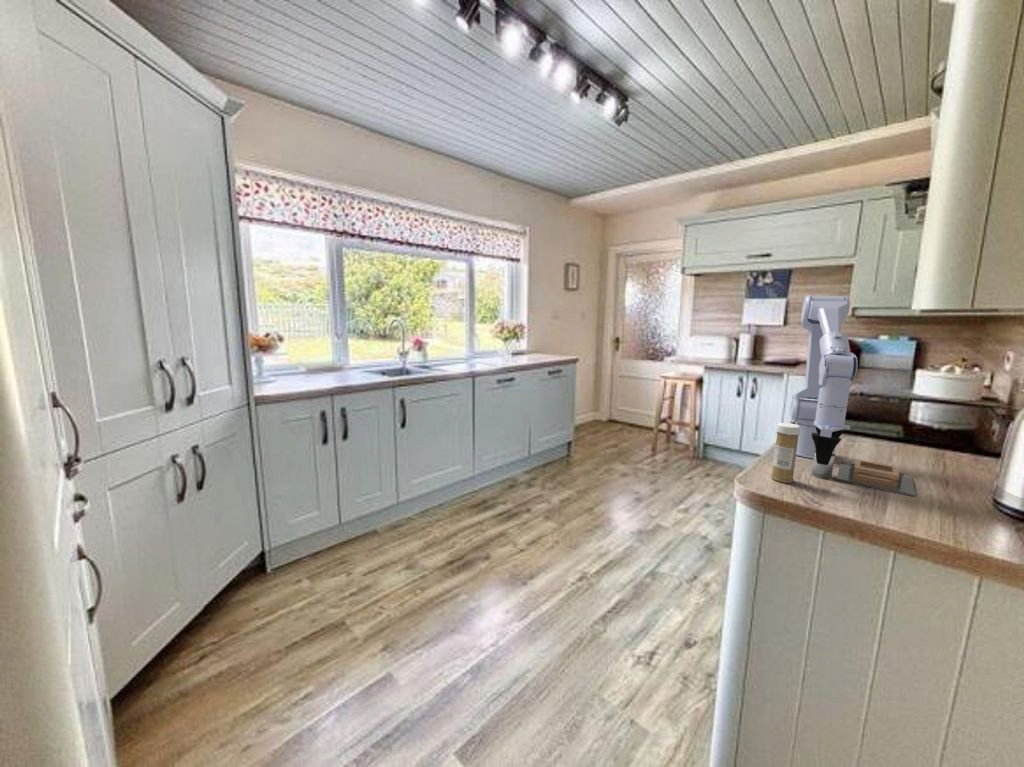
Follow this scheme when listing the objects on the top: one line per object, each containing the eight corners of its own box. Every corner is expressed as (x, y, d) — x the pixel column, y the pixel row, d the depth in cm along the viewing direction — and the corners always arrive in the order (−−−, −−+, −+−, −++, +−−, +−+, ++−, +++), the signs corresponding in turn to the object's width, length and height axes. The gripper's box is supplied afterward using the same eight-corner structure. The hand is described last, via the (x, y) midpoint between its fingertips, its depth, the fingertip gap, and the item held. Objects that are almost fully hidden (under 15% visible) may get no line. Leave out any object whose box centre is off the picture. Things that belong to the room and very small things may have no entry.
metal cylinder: (812, 471, 110) (816, 444, 109) (832, 475, 108) (836, 448, 107) (810, 476, 107) (814, 448, 106) (831, 480, 105) (835, 452, 104)
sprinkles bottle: (796, 481, 104) (804, 425, 101) (787, 485, 101) (794, 428, 99) (776, 474, 107) (783, 421, 105) (766, 478, 105) (773, 423, 103)
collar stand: (839, 465, 116) (841, 453, 115) (911, 479, 107) (913, 466, 107) (836, 480, 105) (838, 467, 104) (915, 497, 96) (917, 483, 96)
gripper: (851, 412, 97) (842, 471, 99) (854, 403, 108) (845, 456, 110) (813, 407, 101) (805, 464, 103) (819, 399, 112) (812, 450, 114)
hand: (823, 460), depth 107 cm, fingers open, 7 cm apart
